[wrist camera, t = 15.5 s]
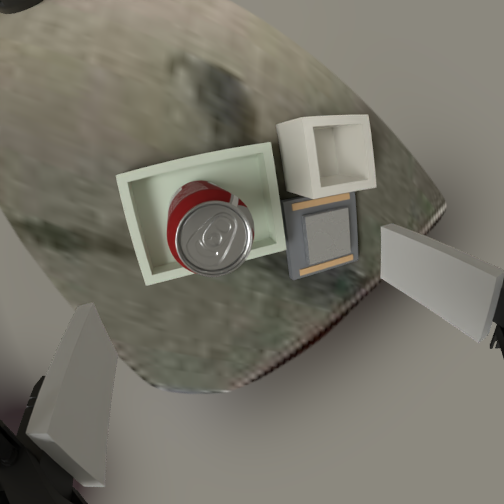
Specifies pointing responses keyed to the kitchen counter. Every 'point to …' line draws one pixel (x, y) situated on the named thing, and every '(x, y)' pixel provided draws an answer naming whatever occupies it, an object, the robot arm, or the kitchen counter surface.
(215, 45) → the kitchen counter surface
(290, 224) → the checker cradle
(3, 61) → the kitchen counter surface
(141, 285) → the kitchen counter surface
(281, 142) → the cup
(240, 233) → the soda can
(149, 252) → the trough
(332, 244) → the platform
